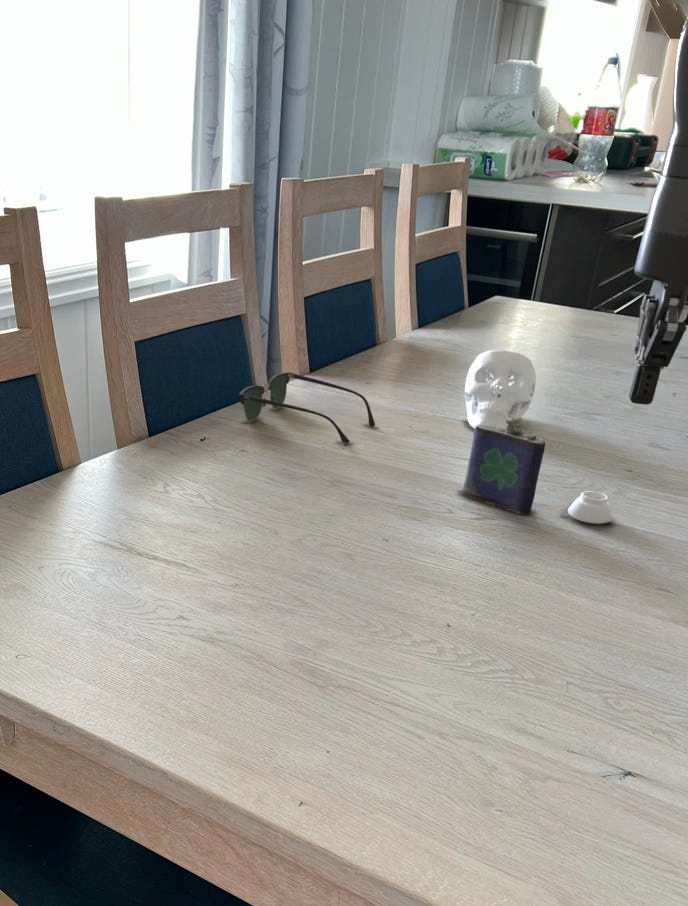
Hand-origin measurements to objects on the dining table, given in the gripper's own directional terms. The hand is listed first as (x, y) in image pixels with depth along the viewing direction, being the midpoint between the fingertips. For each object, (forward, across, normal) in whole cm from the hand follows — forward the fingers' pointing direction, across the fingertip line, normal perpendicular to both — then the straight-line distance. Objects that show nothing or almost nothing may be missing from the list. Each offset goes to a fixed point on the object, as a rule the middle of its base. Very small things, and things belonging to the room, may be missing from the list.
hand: (639, 401), depth 105 cm
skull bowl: (+16, +45, +12) cm, 49 cm away
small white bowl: (+16, +7, +1) cm, 18 cm away
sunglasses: (+16, +31, +39) cm, 52 cm away
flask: (+16, +8, +12) cm, 22 cm away
